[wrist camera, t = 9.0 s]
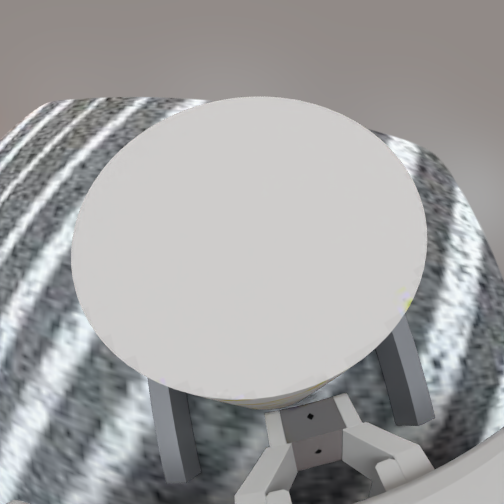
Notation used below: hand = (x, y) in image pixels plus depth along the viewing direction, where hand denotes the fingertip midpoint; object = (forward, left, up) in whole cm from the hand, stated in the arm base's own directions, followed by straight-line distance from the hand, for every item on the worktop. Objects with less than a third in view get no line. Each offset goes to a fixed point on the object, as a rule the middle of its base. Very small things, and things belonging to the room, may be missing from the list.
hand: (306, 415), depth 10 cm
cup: (+4, +3, -6) cm, 8 cm away
